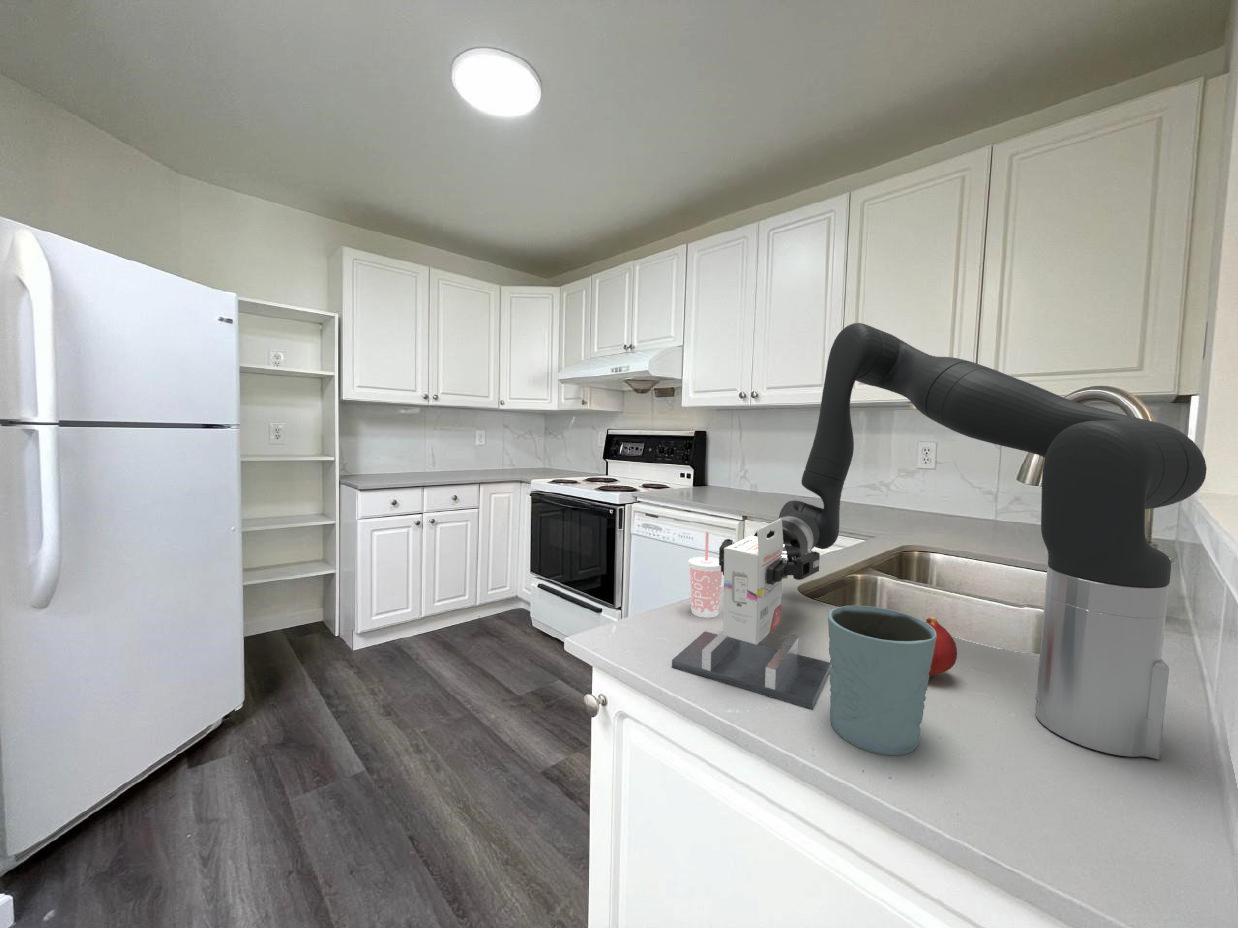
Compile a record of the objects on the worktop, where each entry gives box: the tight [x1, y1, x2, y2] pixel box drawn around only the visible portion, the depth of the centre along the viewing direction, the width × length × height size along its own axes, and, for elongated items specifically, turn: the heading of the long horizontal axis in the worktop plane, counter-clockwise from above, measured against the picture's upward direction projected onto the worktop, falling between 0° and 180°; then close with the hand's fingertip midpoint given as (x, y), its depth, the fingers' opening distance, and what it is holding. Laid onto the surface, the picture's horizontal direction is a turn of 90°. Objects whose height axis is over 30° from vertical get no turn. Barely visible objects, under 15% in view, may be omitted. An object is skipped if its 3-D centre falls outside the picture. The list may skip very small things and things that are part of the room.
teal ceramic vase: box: [827, 605, 937, 756], centre depth 54 cm, size 10×10×12 cm
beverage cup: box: [687, 531, 723, 619], centre depth 87 cm, size 6×6×14 cm
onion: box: [925, 616, 958, 678], centre depth 66 cm, size 6×6×8 cm
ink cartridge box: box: [722, 519, 783, 645], centre depth 67 cm, size 9×5×15 cm, turn 143°
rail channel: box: [671, 630, 831, 710], centre depth 68 cm, size 18×11×4 cm, turn 57°
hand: (747, 572), depth 65 cm, fingers closed on ink cartridge box, 5 cm apart
